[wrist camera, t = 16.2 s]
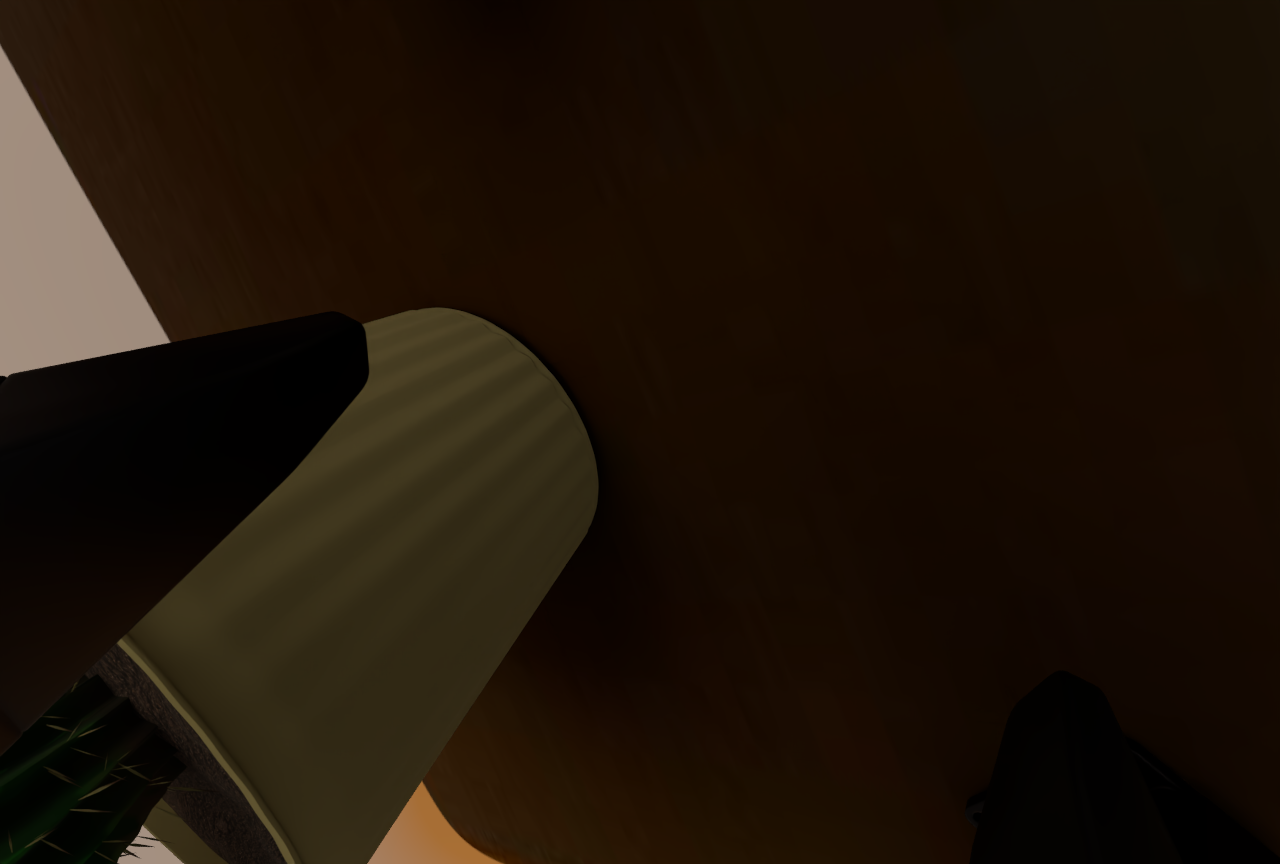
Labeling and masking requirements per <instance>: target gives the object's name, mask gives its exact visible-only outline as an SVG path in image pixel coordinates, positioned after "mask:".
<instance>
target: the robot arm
mask: <svg viewBox="0 0 1280 864" xmlns="http://www.w3.org/2000/svg"><path fill="white" fill-rule="evenodd" d="M368 377H369V359H368V348H367V338H366V331H365V329H364V327H363V325H362V324H361V323H360V322H358V321H356V320H354V319H352V318H350V317H348V316H346V315H344V314H342V313H339V312H334V311H331V312H325V313H319V314H314V315H309V316H304V317H299V318H294V319H289V320H284V321H279V322H274V323H269V324H263V325H258V326H253V327H248V328H243V329H238V330H233V331H228V332H223V333H218V334H213V335H207V336H202V337H197V338H192V339H187V340H182V341H177V342H172V343H167V344H162V345H156V346H151V347H146V348H141V349H136V350H131V351H126V352H121V353H116V354H110V355H106V356H100V357H95V358H90V359H85V360H80V361H75V362H70V363H65V364H60V365H55V366H49V367H44V368H39V369H34V370H29V371H24V372H19V373H13V374H11V375H9V376H8V377H5V376H0V756H1V755H2V754H3V753H4V752H6V751H7V750H8V749H9V748H10V747H11V746H12V745H13V744H14V743H15V742H16V741H17V740H18V739H19V738H20V737H21V736H22V734H23V732H24V731H26V730H28V729H29V728H30V727H31V726H32V725H33V724H34V723H35V722H36V721H37V720H38V719H39V718H40V717H41V716H42V715H43V714H44V713H45V712H46V711H47V710H48V709H49V708H50V707H51V706H52V705H53V704H54V703H56V702H57V701H58V700H59V699H60V698H61V697H62V696H63V695H64V694H65V693H66V692H67V691H68V690H69V689H70V688H71V687H72V686H73V685H74V684H75V683H76V682H77V681H78V680H79V679H80V678H81V677H82V676H83V675H84V674H85V673H86V672H88V671H89V670H90V669H91V668H92V667H93V666H94V665H95V664H96V663H97V662H98V661H99V660H100V659H101V658H102V657H103V656H104V655H105V654H106V653H107V652H108V651H109V650H110V649H111V648H112V647H113V646H114V645H115V644H116V643H117V642H118V641H120V640H121V639H122V638H123V637H124V636H125V635H126V634H127V633H128V632H129V631H130V630H131V629H132V628H133V627H134V626H135V625H136V624H137V623H138V622H139V621H140V620H141V619H142V618H143V617H144V616H145V615H146V614H147V613H148V612H149V611H150V610H152V609H153V608H154V607H155V606H156V605H157V604H158V603H159V602H160V601H161V600H162V599H163V598H164V597H165V596H166V595H167V594H168V593H169V592H170V591H171V590H172V589H173V588H174V587H175V586H176V585H177V584H178V583H179V582H180V581H181V580H182V579H184V578H185V577H186V576H187V575H188V574H189V573H190V572H191V571H192V570H193V569H194V568H195V567H196V566H197V565H198V564H199V563H200V562H201V561H202V560H203V559H204V558H205V557H206V556H207V555H208V554H209V553H210V552H211V551H212V550H213V549H214V548H216V547H217V546H218V545H219V544H220V543H221V542H222V541H223V540H224V539H225V538H226V537H227V536H228V535H229V534H230V533H231V532H232V531H233V530H234V529H235V528H236V527H237V526H238V525H239V524H240V523H241V522H242V521H243V520H244V519H245V518H246V517H248V516H249V515H250V514H251V513H252V512H253V511H254V510H255V509H256V508H257V507H258V506H259V505H260V504H261V503H262V502H263V501H264V500H265V499H266V498H267V497H268V496H269V495H270V494H271V493H272V492H273V491H274V490H275V489H276V488H277V487H279V486H280V485H281V484H282V483H283V482H284V481H285V480H286V478H287V477H288V476H289V475H290V474H291V473H292V472H293V471H294V470H295V469H296V468H297V467H298V466H299V465H300V464H301V462H302V461H303V460H304V459H305V458H306V457H307V456H308V454H309V453H310V452H311V451H312V450H313V448H314V447H315V446H316V445H317V444H318V442H319V441H320V440H321V439H322V438H323V436H324V435H325V434H326V433H327V432H328V430H329V429H330V428H331V427H332V426H333V424H334V423H335V422H336V421H337V420H338V418H339V417H340V416H341V415H342V414H343V412H344V411H345V410H346V409H347V408H348V406H349V405H350V404H351V403H352V402H353V400H354V399H355V398H356V397H357V396H358V394H359V393H360V392H361V391H362V389H363V388H364V386H365V385H366V383H367V380H368ZM965 816H966V818H967V820H968V821H969V822H970V823H971V824H972V825H973V826H975V827H976V828H977V831H976V835H975V839H974V843H973V847H972V852H971V857H970V863H969V864H1280V858H1279V857H1278V856H1276V855H1275V854H1274V853H1273V852H1271V851H1270V850H1269V849H1268V848H1267V847H1265V846H1264V845H1263V844H1262V843H1261V842H1259V841H1258V840H1257V839H1256V838H1255V837H1253V836H1252V835H1251V834H1250V833H1248V832H1247V831H1246V830H1245V829H1244V828H1242V827H1241V826H1240V825H1239V824H1238V823H1236V822H1235V821H1234V820H1233V819H1231V818H1230V817H1229V816H1228V815H1227V814H1225V813H1224V812H1223V811H1222V810H1221V809H1219V808H1218V807H1217V806H1216V805H1215V804H1213V803H1212V802H1211V801H1210V800H1208V799H1207V798H1205V797H1203V796H1202V795H1200V794H1199V793H1198V792H1197V791H1196V790H1194V789H1193V788H1192V787H1191V786H1189V785H1188V784H1187V783H1186V782H1185V781H1183V780H1182V779H1181V778H1180V777H1179V776H1177V775H1176V774H1175V773H1174V772H1173V771H1171V770H1170V769H1169V768H1168V767H1166V766H1165V765H1164V764H1163V763H1162V762H1160V761H1159V760H1158V759H1157V758H1156V757H1154V756H1153V755H1152V754H1151V753H1150V752H1148V751H1147V750H1146V749H1145V748H1143V747H1142V746H1141V745H1140V744H1138V743H1137V742H1135V741H1134V740H1132V739H1128V738H1125V737H1124V735H1123V733H1122V730H1121V728H1120V726H1119V724H1118V722H1117V720H1116V718H1115V715H1114V713H1113V711H1112V709H1111V707H1110V705H1109V702H1108V700H1107V698H1106V696H1105V695H1104V693H1103V692H1102V691H1101V690H1100V689H1099V688H1098V687H1097V686H1095V685H1093V684H1091V683H1089V682H1087V681H1085V680H1083V679H1081V678H1079V677H1077V676H1075V675H1073V674H1071V673H1069V672H1067V671H1063V670H1062V671H1056V672H1054V673H1053V674H1051V675H1050V676H1048V677H1047V678H1046V679H1045V680H1044V681H1042V682H1041V683H1040V684H1039V685H1038V686H1037V687H1035V688H1034V689H1033V690H1032V691H1031V692H1029V693H1028V694H1027V695H1026V696H1025V697H1023V698H1022V699H1021V700H1020V701H1019V702H1018V703H1017V704H1016V705H1015V707H1014V708H1013V710H1012V711H1011V713H1010V716H1009V718H1008V721H1007V724H1006V728H1005V731H1004V735H1003V738H1002V742H1001V745H1000V749H999V752H998V756H997V759H996V763H995V767H994V770H993V774H992V777H991V781H990V784H989V788H988V790H987V791H985V792H983V793H980V794H978V795H976V796H973V797H971V798H970V799H968V801H967V805H966V810H965Z"/></svg>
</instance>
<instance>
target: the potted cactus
mask: <svg viewBox="0 0 1280 864" xmlns="http://www.w3.org/2000/svg"><path fill="white" fill-rule="evenodd" d="M362 325H363V327H364V329H365V331H366V338H367V348H368V359H369V377H368V380H367V383H366V385H365V386H364V388H363V389H362V391H361V392H360V393H359V394H358V396H357V397H356V398H355V399H354V400H353V402H352V403H351V404H350V405H349V406H348V408H347V409H346V410H345V411H344V412H343V414H342V415H341V416H340V417H339V418H338V420H337V421H336V422H335V423H334V424H333V426H332V427H331V428H330V429H329V430H328V432H327V433H326V434H325V435H324V436H323V438H322V439H321V440H320V441H319V442H318V444H317V445H316V446H315V447H314V448H313V450H312V451H311V452H310V453H309V454H308V456H307V457H306V458H305V459H304V460H303V461H302V462H301V464H300V465H299V466H298V467H297V468H296V469H295V470H294V471H293V472H292V473H291V474H290V475H289V476H288V477H287V478H286V480H285V481H284V482H283V483H282V484H281V485H280V486H279V487H277V488H276V489H275V490H274V491H273V492H272V493H271V494H270V495H269V496H268V497H267V498H266V499H265V500H264V501H263V502H262V503H261V504H260V505H259V506H258V507H257V508H256V509H255V510H254V511H253V512H252V513H251V514H250V515H249V516H248V517H246V518H245V519H244V520H243V521H242V522H241V523H240V524H239V525H238V526H237V527H236V528H235V529H234V530H233V531H232V532H231V533H230V534H229V535H228V536H227V537H226V538H225V539H224V540H223V541H222V542H221V543H220V544H219V545H218V546H217V547H216V548H214V549H213V550H212V551H211V552H210V553H209V554H208V555H207V556H206V557H205V558H204V559H203V560H202V561H201V562H200V563H199V564H198V565H197V566H196V567H195V568H194V569H193V570H192V571H191V572H190V573H189V574H188V575H187V576H186V577H185V578H184V579H182V580H181V581H180V582H179V583H178V584H177V585H176V586H175V587H174V588H173V589H172V590H171V591H170V592H169V593H168V594H167V595H166V596H165V597H164V598H163V599H162V600H161V601H160V602H159V603H158V604H157V605H156V606H155V607H154V608H153V609H152V610H150V611H149V612H148V613H147V614H146V615H145V616H144V617H143V618H142V619H141V620H140V621H139V622H138V623H137V624H136V625H135V626H134V627H133V628H132V629H131V630H130V631H129V632H128V633H127V634H126V635H125V636H124V637H123V638H122V639H121V640H120V641H118V642H117V643H116V644H115V645H114V646H113V647H112V648H111V649H110V650H109V651H108V652H107V653H106V654H105V655H104V656H103V657H102V658H101V659H100V660H99V661H98V662H97V663H96V664H95V665H94V666H93V667H92V668H91V669H90V670H89V671H88V672H86V673H85V674H84V675H83V676H82V677H81V678H80V679H79V680H78V681H77V682H76V683H75V684H74V685H73V686H72V687H71V688H70V689H69V690H68V691H67V692H66V693H65V694H64V695H63V696H62V697H61V698H60V699H59V700H58V701H57V702H56V703H54V704H53V705H52V706H51V707H50V708H49V709H48V710H47V711H46V712H45V713H44V714H43V715H42V716H41V717H40V718H39V719H38V720H37V721H36V722H35V723H34V724H33V725H32V726H31V727H30V728H29V729H28V730H26V731H24V732H23V734H22V736H21V737H20V738H19V739H18V740H17V741H16V742H15V743H14V744H13V745H12V746H11V747H10V748H9V749H8V750H7V751H6V752H4V753H3V754H2V755H1V756H0V864H118V863H117V862H118V859H119V857H121V856H126V855H133V856H135V857H137V856H136V855H134V854H133V853H131V852H129V851H128V850H126V848H127V847H128V846H129V845H130V846H137V847H152V846H147V845H141V844H131V843H132V842H133V840H134V839H135V838H136V837H137V835H138V834H139V832H140V830H141V827H142V825H143V826H144V827H145V828H146V829H147V830H148V831H149V832H150V833H151V834H152V835H153V836H154V837H155V838H156V839H154V838H147V837H141V838H146V839H150V840H156V841H160V842H161V843H162V844H163V845H164V846H165V847H166V848H168V849H169V850H170V851H171V852H172V853H173V854H174V855H175V856H176V857H177V858H178V859H179V860H181V861H182V862H183V863H184V864H367V863H368V862H369V860H370V859H371V857H372V856H373V854H374V853H375V851H376V850H377V848H378V846H379V845H380V843H381V842H382V840H383V839H384V837H385V836H386V834H387V833H388V831H389V830H390V828H391V827H392V825H393V824H394V822H395V821H396V819H397V818H398V816H399V814H400V813H401V811H402V810H403V808H404V807H405V805H406V804H407V802H408V801H409V799H410V798H411V796H412V795H413V793H414V792H415V790H416V789H417V787H418V786H419V784H420V783H421V781H422V780H423V778H424V777H425V775H426V774H427V772H428V771H429V769H430V768H431V766H432V765H433V763H434V762H435V760H436V759H437V757H438V756H439V754H440V753H441V751H442V750H443V748H444V747H445V745H446V744H447V742H448V741H449V739H450V738H451V736H452V735H453V733H454V732H455V730H456V729H457V727H458V726H459V724H460V723H461V721H462V720H463V718H464V717H465V715H466V714H467V712H468V711H469V709H470V708H471V706H472V705H473V703H474V702H475V700H476V699H477V697H478V696H479V694H480V693H481V691H482V690H483V688H484V687H485V685H486V684H487V682H488V681H489V679H490V678H491V676H492V675H493V673H494V672H495V670H496V669H497V667H498V666H499V664H500V663H501V661H502V660H503V658H504V657H505V655H506V654H507V652H508V651H509V649H510V648H511V646H512V645H513V643H514V642H515V640H516V639H517V637H518V636H519V634H520V633H521V631H522V630H523V628H524V627H525V625H526V624H527V622H528V621H529V619H530V618H531V616H532V615H533V613H534V612H535V610H536V609H537V607H538V606H539V604H540V603H541V601H542V600H543V598H544V597H545V595H546V594H547V592H548V591H549V589H550V588H551V586H552V585H553V583H554V582H555V580H556V579H557V577H558V576H559V574H560V573H561V571H562V570H563V568H564V567H565V566H566V564H567V563H568V561H569V560H570V558H571V557H572V555H573V554H574V552H575V551H576V549H577V548H578V546H579V545H580V543H581V542H582V540H583V539H584V537H585V536H586V534H587V533H588V528H589V527H590V525H591V523H592V520H593V517H594V514H595V511H596V507H597V501H598V487H599V484H598V473H597V466H596V460H595V456H594V452H593V449H592V446H591V443H590V439H589V437H588V434H587V431H586V429H585V427H584V425H583V422H582V420H581V418H580V416H579V414H578V412H577V410H576V408H575V407H574V405H573V403H572V402H571V400H570V398H569V397H568V395H567V394H566V392H565V391H564V389H563V388H562V387H561V385H560V384H559V382H558V381H557V380H556V378H555V377H554V376H553V375H552V374H551V372H550V371H549V370H548V369H547V368H546V367H545V366H544V365H543V363H542V362H541V361H540V360H539V359H538V358H537V357H536V356H535V355H534V354H533V353H532V352H531V351H529V350H528V349H527V348H526V347H525V346H524V345H522V344H521V343H520V342H519V341H518V340H516V339H515V338H514V337H513V336H511V335H510V334H508V333H507V332H505V331H504V330H502V329H500V328H499V327H497V326H495V325H494V324H492V323H490V322H488V321H486V320H484V319H482V318H480V317H477V316H475V315H472V314H469V313H466V312H463V311H459V310H454V309H448V308H427V309H420V310H417V311H415V310H410V311H407V312H403V313H400V314H396V315H393V316H389V317H386V318H382V319H379V320H375V321H372V322H369V323H365V324H362ZM139 837H140V836H139ZM123 852H124V853H125V854H126V853H128V854H126V855H121V854H122V853H123Z"/></svg>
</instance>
